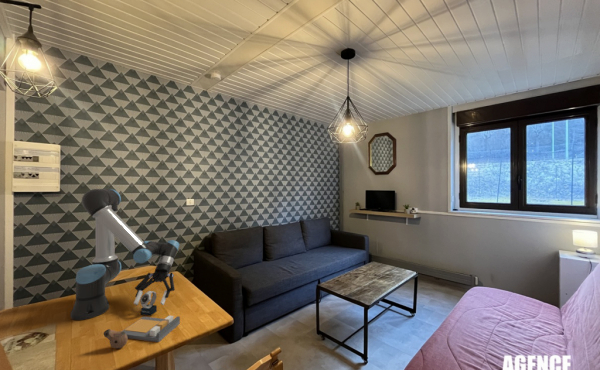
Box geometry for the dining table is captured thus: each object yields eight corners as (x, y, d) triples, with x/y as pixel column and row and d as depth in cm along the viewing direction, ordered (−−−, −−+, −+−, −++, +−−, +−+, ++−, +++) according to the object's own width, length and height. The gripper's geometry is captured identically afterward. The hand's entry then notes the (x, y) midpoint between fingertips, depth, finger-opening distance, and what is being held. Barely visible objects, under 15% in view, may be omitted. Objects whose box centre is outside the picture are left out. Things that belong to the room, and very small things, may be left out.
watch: (137, 316, 123) (138, 295, 123) (150, 308, 131) (150, 288, 131) (147, 317, 122) (147, 296, 122) (159, 309, 130) (159, 289, 130)
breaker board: (118, 336, 107) (118, 327, 107) (143, 319, 121) (143, 311, 121) (158, 342, 104) (159, 332, 104) (179, 323, 118) (179, 315, 118)
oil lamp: (100, 352, 97) (100, 332, 97) (106, 345, 101) (106, 326, 101) (124, 350, 99) (125, 330, 99) (129, 343, 103) (130, 324, 103)
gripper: (187, 268, 144) (175, 306, 129) (145, 268, 143) (127, 306, 128) (184, 262, 138) (170, 301, 124) (139, 262, 138) (120, 301, 123)
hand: (148, 304), depth 126 cm, fingers open, 13 cm apart
